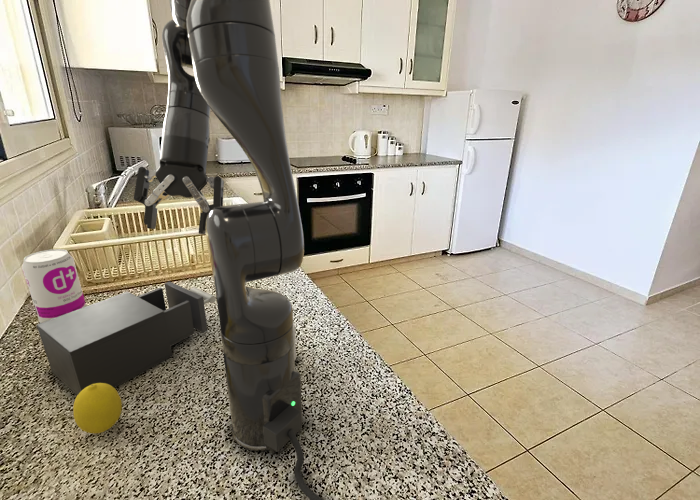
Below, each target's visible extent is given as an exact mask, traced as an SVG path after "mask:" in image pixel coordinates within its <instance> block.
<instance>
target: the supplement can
mask: <svg viewBox="0 0 700 500" xmlns="http://www.w3.org/2000/svg"><path fill="white" fill-rule="evenodd" d="M21 270H22V273H23V277H24V279H25V282H26V285H27V288H28V291H29V294H30V297H31V301H32V303H33V306H34V309H35V312H36V316H37V318H38V323H39V324H40V323H42V322H45V321H48V320H50V319H53V318H56V317H59V316H61V315H64V314H67V313H70V312H72V311H75V310H78V309H81V308H83V307H86V306H87V303H86V299H85V296H84V292H83V288H82V285H81V281H80V278H79V273H78V270H77V266H76V263H75V258H74V257H73V256H72V255H71V254H70V253H69V251H68V250H67V249H62V248H61V249H60V248H53V249H46V250H41V251H36V252H33V253H31V254H28V255H26V256H25V257H24V258H23V261H22V265H21Z"/></svg>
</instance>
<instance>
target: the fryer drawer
mask: <svg viewBox="0 0 700 500" xmlns="http://www.w3.org/2000/svg"><path fill="white" fill-rule="evenodd" d="M164 289H165V293H164V290H163V288H162V287H158V288H155V289H153V290H150V291H148V292H145V293H142V294H139V295H136V296H137V297H139V298H141V299H143V300H145V301H146V302H148V303H150V304H152V305H154V306H156V307H158V308H159V309H161V310H163V311H164V312H165V317H166V323H167V328H168V334H169V339H170V345H171V347H173V346H174V345H176V344H178V343H180V342H181V341H185V340H186V339H188V338H189V337H191V336H193V335H195V331H198V332H200V333H201V334H204V333H206V332H207V331H208V330H209V329H208V322H207V316H206V308H205V305H206V304H208V303H210V304H214V303H216V302H217V298H216V295H213V294H211V293H209V292H206V291H204V290H202V289H200V288H198V287H196V286H192V287H190V288H189V289H187V288H185V287H183V286H182V285H178V284H176V283H174V282H172V281H171V280H170V281H167V282H164ZM164 294H166V301H167V305H166V301H165V295H164ZM167 306H168V308H167Z"/></svg>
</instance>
